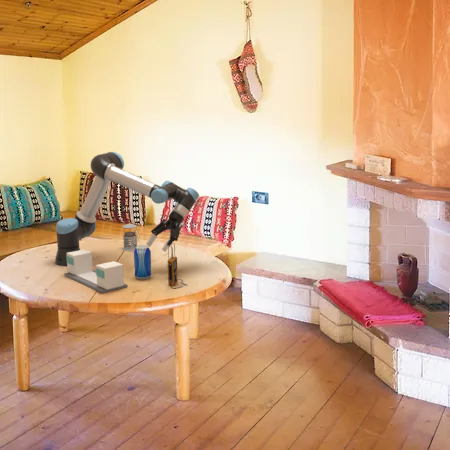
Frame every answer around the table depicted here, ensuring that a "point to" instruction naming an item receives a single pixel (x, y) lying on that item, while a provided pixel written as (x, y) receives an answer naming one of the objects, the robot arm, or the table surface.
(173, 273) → the multimeter
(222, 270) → the table surface
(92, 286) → the rail board
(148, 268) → the beer can
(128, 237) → the french press
